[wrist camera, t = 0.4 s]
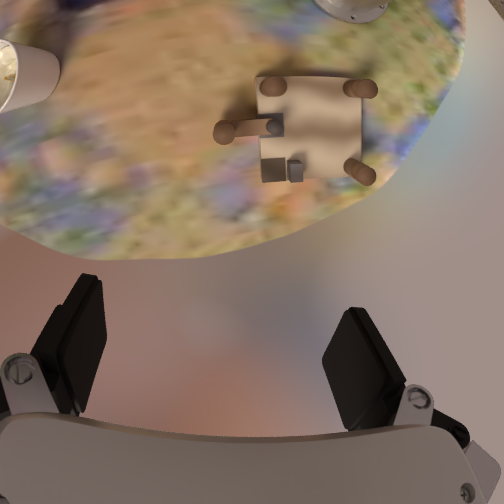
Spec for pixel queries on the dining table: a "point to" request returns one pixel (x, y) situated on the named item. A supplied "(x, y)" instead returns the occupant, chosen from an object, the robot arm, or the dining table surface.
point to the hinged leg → (245, 129)
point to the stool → (313, 127)
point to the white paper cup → (25, 75)
